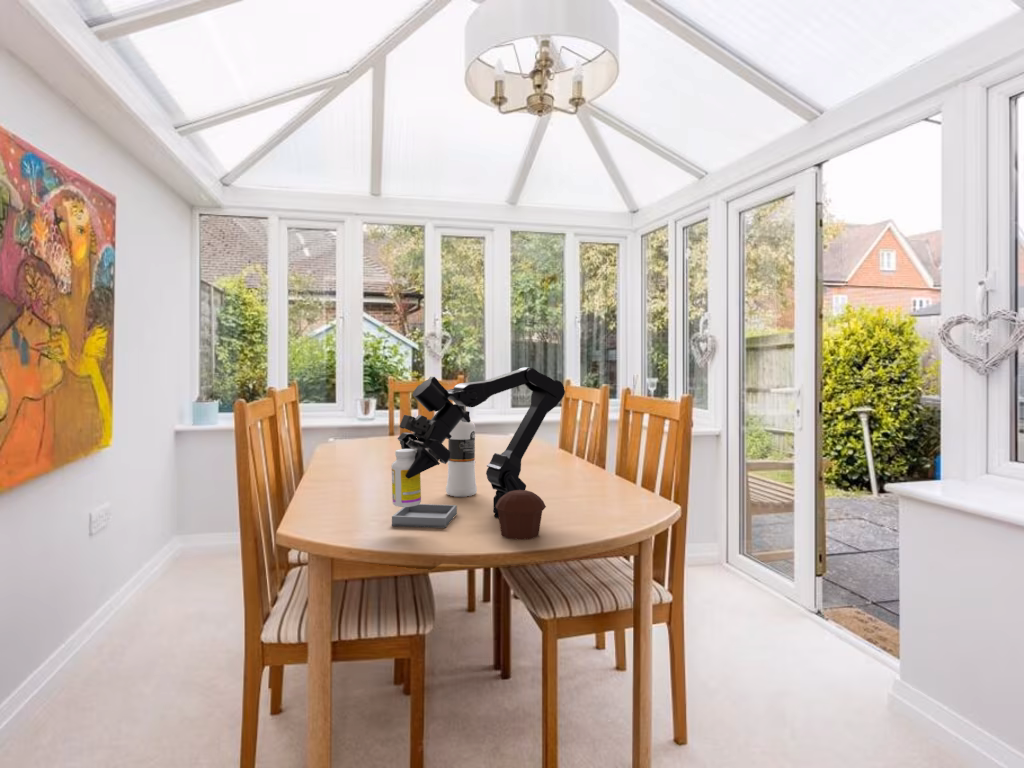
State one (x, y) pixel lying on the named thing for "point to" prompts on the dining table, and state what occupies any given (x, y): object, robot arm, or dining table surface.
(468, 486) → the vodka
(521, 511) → the muffin
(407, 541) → the dining table surface
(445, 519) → the tray
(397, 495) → the supplement bottle
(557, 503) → the dining table surface
